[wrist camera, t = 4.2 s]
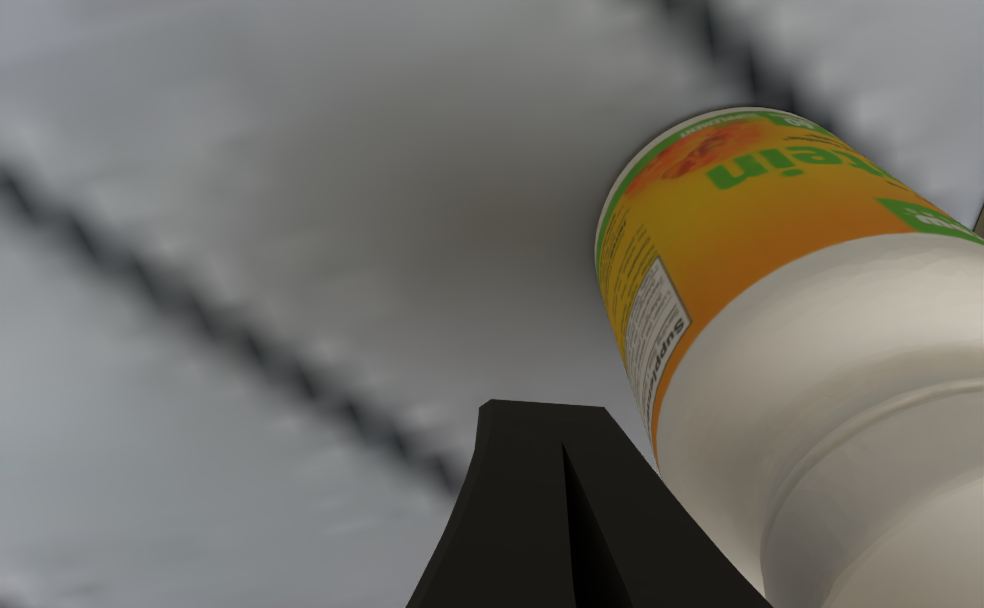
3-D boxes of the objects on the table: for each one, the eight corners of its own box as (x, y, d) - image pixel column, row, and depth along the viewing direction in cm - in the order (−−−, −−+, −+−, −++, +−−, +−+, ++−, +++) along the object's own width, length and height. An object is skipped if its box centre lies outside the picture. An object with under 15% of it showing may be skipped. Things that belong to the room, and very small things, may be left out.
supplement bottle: (895, 110, 15) (1459, 406, 7) (821, 357, 18) (1160, 811, 9) (610, 90, 15) (808, 376, 6) (575, 345, 17) (681, 803, 9)
